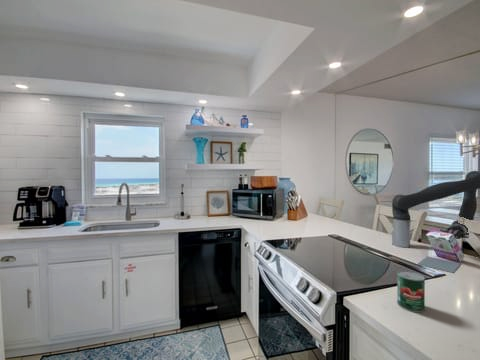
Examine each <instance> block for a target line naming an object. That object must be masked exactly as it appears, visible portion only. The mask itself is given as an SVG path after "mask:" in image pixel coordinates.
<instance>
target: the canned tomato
mask: <svg viewBox="0 0 480 360" xmlns="http://www.w3.org/2000/svg"><path fill="white" fill-rule="evenodd" d="M396 274H397V278H396V279H397V280H396V281H397V285H396V286H397V289H396V291H397V292H396V293H397V295H396V296H397V297H396V299H397V301H396V302H397V303H396V304H397V305H398V306H399V307H400V308H402V309H404V310H406V311H408V312H412V313H423V312H425V311H426V310H425V308H426V307H425V305H426V304H425V301H426V299H425V297H426V296H425V293H426V292H425V291H426V290H425V288H426V286H425V285H426V283H425V282H426V281H425V279H426V278H425V276H424V275H422V274H420V273H417V272H414V271H410V270H399V271H397V273H396Z"/></svg>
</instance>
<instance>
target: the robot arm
mask: <svg viewBox="0 0 480 360" xmlns="http://www.w3.org/2000/svg"><path fill="white" fill-rule="evenodd" d="M479 189H480V171H479V170H471V171H469V172H468V173H467V174H466V175H465V179H462V180H461V179H460V180H454V181H444V182H439V183H435V184H433V185H430V186H428V187H426V188H423V189H422V190H420V191H417V192H415V193H411V194H406V195H404V194H396V195H394V197H393V198H392V201H391V204H392V205H391V207H392V218H393V224H392V225H393V226H392V230H391V245H392V246H395V247H399V248H410V247H411V215H410V211H409V209H411V208H414V207H416V206H419V205H422V204H425V203H426V204H427V203H429V202H434V201H439V200H442V199H446V198H449V197H452V196H456V195H458V194H462V193H463V198H462V200H461V201H462V202H461V205H460V210H459V213H458V217H459V218H461V217H464V218H466V219H469V220H474V219H475V215H476V212H477V209H478V203H477V201H478V200H477V191H478V190H479ZM461 219H462V218H461ZM458 221H459V220H454V221H453V222H452V223H451V226H449V227H448V228H447V229H441V228H440V229H439V231H441V232H446V233H452V234H454V236H455V238H456V240H460V239H470V235H469V233H467V232H468V228H467V227H466V226H465V225H463V224H460V223H458ZM474 221H475V220H474Z"/></svg>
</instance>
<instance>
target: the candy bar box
mask: <svg viewBox="0 0 480 360" xmlns="http://www.w3.org/2000/svg"><path fill="white" fill-rule="evenodd" d="M425 237H426V238H427V239H428V242H429V243H430V245H431V247H432V249H433V252H434V254H435V256H436V257H439V258H440V259H442V258H443V259H444V260H448V261H452V262H456V263H461V262H462V260H463V259H464V258H465V255H464V253H463V251H462V249H461V247H460V245H459V243H458V241H457V240H458V239H456V238H455V236H454V234H452V233H446V232H441V231H440V230H435V229H429V231H428V232H426V234H425Z"/></svg>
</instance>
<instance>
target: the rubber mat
mask: <svg viewBox="0 0 480 360" xmlns="http://www.w3.org/2000/svg"><path fill="white" fill-rule="evenodd" d="M417 265H418V266H421V267H426V268H431V269H433V270H434V269H435V270H439V271H442V272H446V273H451V274H454V273H455V271H456V270H457V269H458V268H459V267H460V266H461V265H462V263H461V262H456V261H452V260H447V259H442V258H436V257H431V256H425V258H423V259H422V260H420V261H419V262H417Z"/></svg>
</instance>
